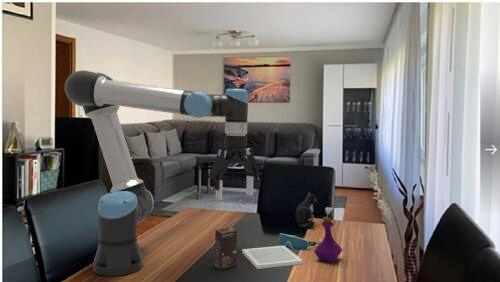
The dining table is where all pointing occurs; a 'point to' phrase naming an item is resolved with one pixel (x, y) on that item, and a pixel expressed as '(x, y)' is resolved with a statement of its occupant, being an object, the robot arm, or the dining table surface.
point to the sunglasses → (296, 242)
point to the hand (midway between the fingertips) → (234, 197)
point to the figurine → (306, 212)
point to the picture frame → (271, 257)
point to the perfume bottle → (328, 241)
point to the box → (225, 248)
